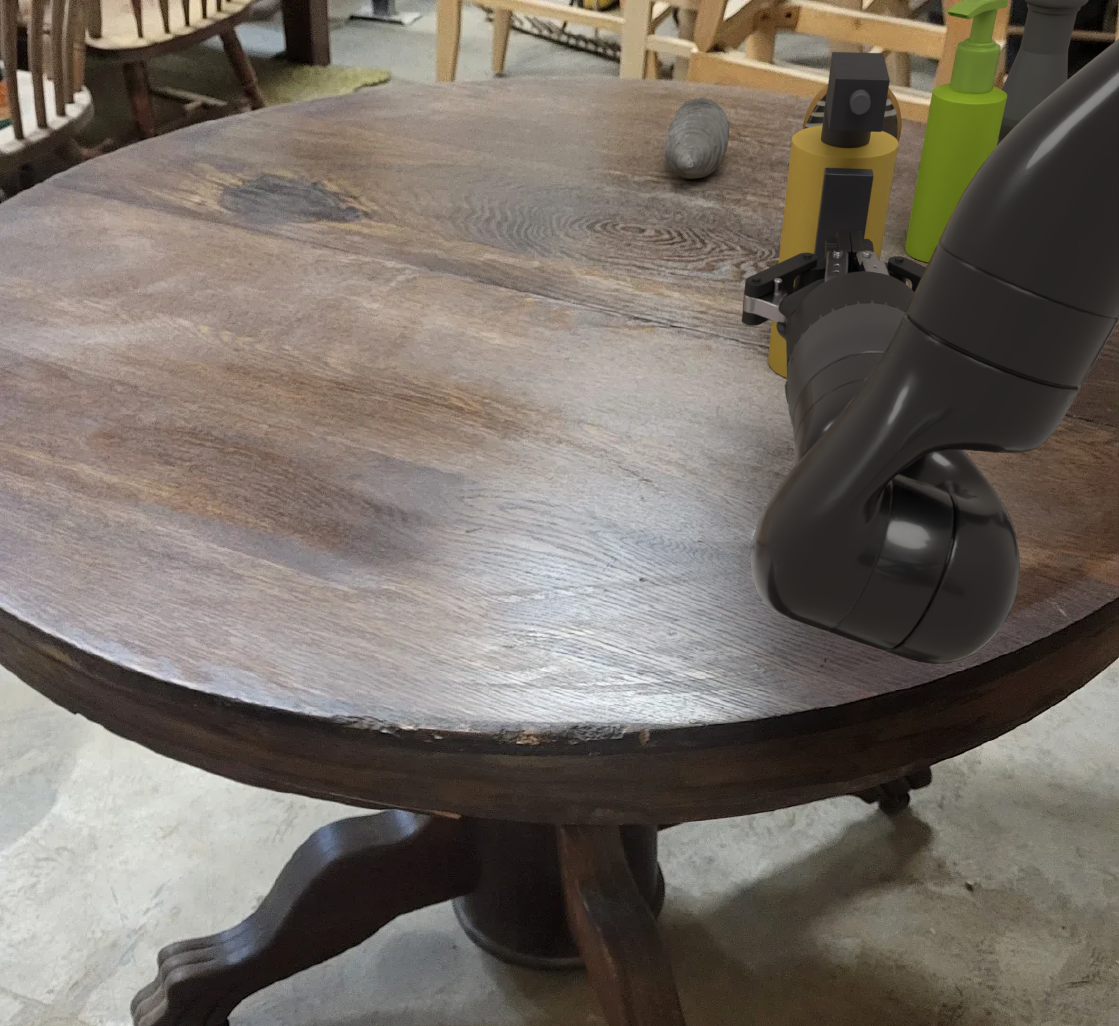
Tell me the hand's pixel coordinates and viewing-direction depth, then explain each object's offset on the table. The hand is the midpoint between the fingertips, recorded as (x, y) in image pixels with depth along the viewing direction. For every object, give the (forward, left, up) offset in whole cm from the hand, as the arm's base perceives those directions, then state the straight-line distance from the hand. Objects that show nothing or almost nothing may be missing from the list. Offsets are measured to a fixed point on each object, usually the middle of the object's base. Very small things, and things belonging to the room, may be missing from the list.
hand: (846, 245), depth 76 cm
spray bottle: (0, -9, -13) cm, 16 cm away
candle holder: (-18, -41, -13) cm, 47 cm away
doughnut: (-4, -52, -13) cm, 54 cm away
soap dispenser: (-11, -33, -13) cm, 37 cm away
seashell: (+11, -52, -13) cm, 55 cm away
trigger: (0, -5, -3) cm, 5 cm away
